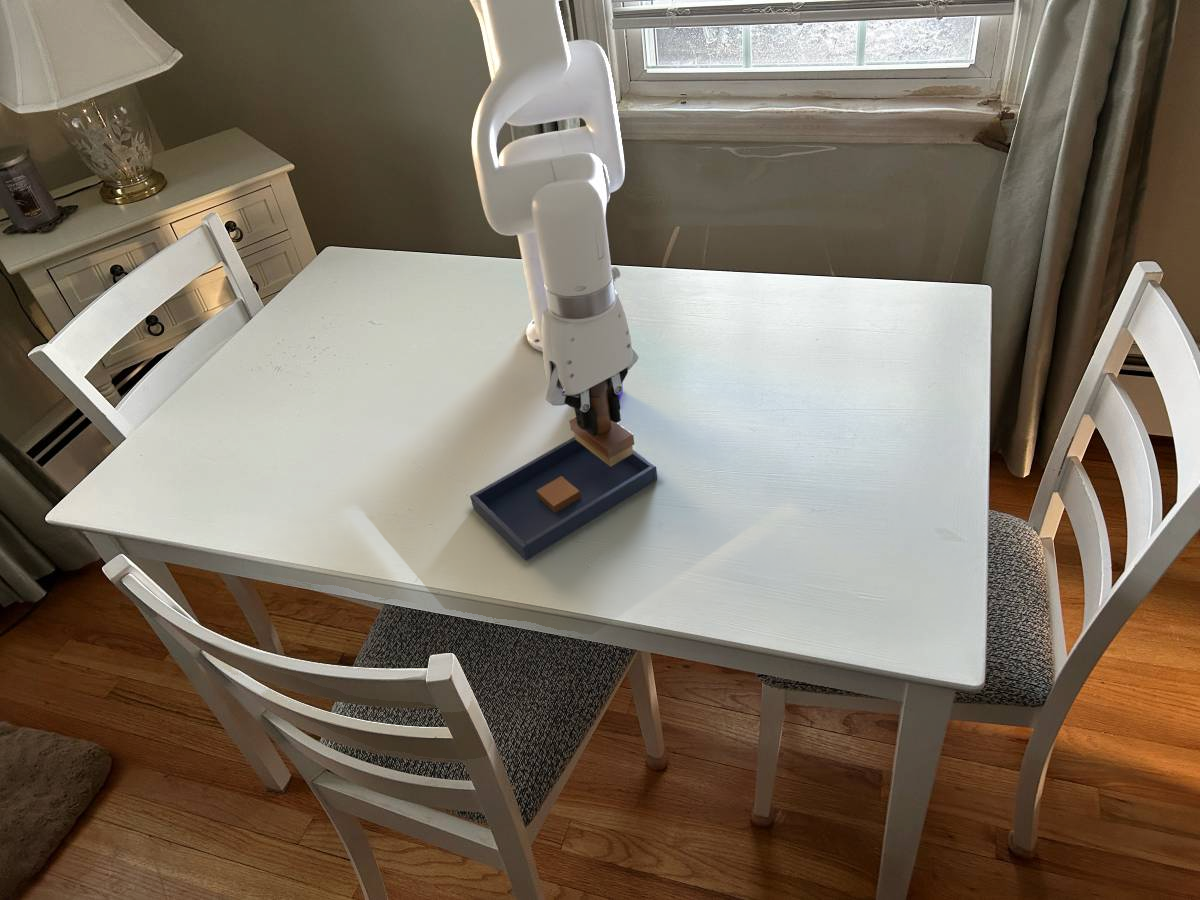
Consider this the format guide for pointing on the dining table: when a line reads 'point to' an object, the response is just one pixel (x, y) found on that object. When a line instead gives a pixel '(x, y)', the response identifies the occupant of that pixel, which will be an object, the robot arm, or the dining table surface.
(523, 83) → the robot arm
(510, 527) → the tray
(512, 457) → the dining table surface
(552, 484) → the brown square tile
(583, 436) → the wooden stamp
